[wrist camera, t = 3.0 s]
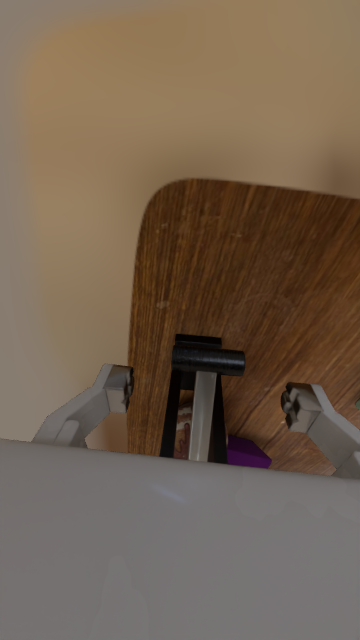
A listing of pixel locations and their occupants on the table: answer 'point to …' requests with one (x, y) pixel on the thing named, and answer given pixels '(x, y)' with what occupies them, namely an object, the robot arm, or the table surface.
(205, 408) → the lever
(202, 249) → the table surface
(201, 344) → the bracket
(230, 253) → the table surface
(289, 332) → the table surface
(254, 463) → the perfume bottle
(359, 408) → the button box
